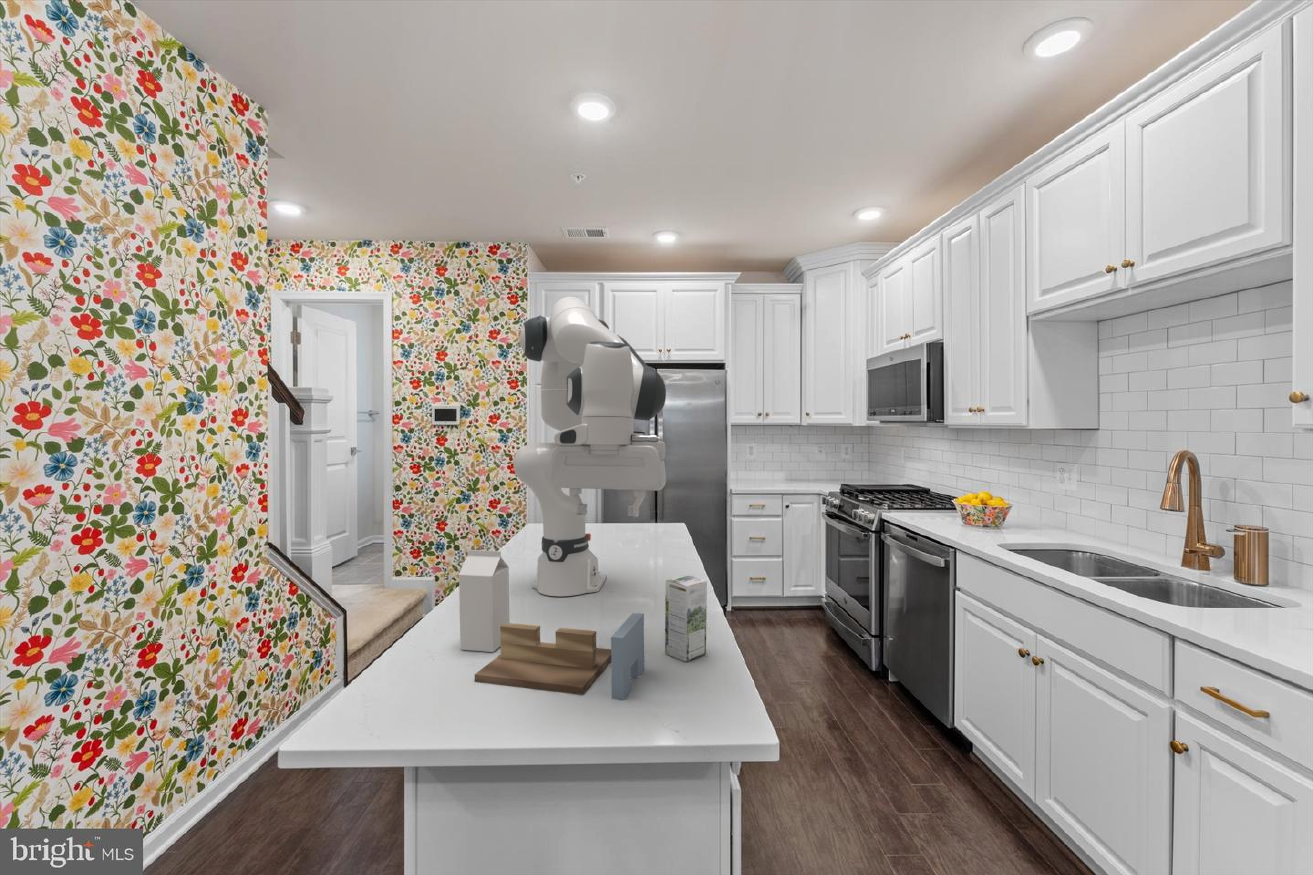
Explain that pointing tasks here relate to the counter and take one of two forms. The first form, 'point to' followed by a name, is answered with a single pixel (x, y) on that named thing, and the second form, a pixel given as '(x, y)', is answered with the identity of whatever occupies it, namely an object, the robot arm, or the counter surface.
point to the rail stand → (546, 660)
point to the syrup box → (685, 617)
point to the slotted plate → (627, 654)
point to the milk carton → (483, 600)
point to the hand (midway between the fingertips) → (606, 515)
